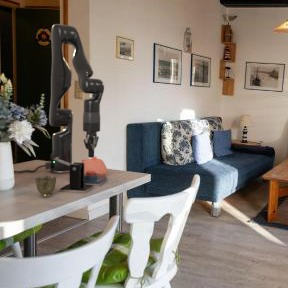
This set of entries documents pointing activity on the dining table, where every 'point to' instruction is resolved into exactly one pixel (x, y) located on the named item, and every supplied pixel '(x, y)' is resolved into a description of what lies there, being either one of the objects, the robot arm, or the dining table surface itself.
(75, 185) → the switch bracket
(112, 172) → the dining table surface
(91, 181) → the control box
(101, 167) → the sugar bowl
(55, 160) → the switch lever
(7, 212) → the dining table surface
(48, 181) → the cup
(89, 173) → the button
